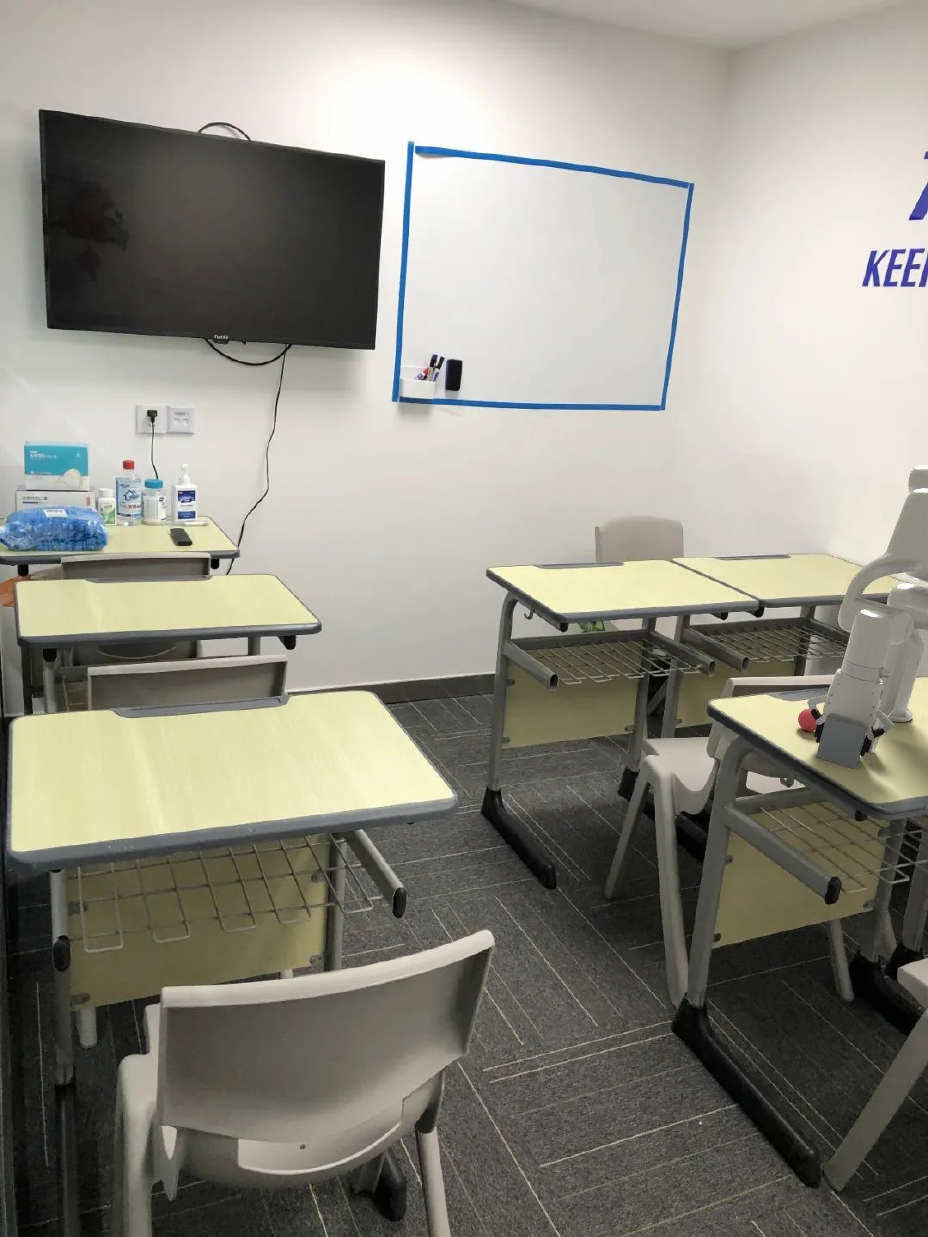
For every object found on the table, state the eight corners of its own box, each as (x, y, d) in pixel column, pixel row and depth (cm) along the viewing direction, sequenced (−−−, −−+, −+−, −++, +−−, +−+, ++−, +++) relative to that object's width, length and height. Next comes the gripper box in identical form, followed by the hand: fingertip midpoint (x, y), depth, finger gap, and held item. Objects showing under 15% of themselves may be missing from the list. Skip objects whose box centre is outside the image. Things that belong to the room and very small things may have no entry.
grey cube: (821, 744, 200) (831, 707, 197) (859, 756, 196) (870, 718, 194) (815, 757, 193) (825, 718, 191) (854, 769, 190) (865, 729, 187)
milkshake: (883, 757, 197) (896, 714, 194) (857, 752, 198) (869, 709, 195) (879, 748, 202) (891, 706, 199) (853, 743, 203) (865, 701, 200)
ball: (798, 723, 210) (803, 702, 208) (820, 730, 208) (826, 709, 206) (793, 730, 206) (798, 709, 204) (817, 737, 204) (822, 716, 202)
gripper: (908, 677, 188) (886, 755, 193) (820, 654, 196) (800, 729, 201) (905, 687, 182) (882, 767, 187) (814, 663, 189) (794, 740, 195)
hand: (840, 747), depth 194 cm, fingers open, 8 cm apart
